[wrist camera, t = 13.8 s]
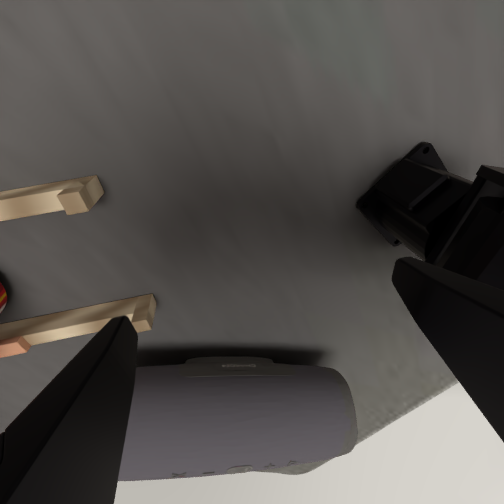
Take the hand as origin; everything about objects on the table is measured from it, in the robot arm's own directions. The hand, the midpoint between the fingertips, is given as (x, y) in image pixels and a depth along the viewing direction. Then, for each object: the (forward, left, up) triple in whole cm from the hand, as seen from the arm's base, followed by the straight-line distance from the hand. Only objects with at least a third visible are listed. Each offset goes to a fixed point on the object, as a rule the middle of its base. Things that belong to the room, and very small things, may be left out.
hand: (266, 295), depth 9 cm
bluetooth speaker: (-14, +17, -12) cm, 25 cm away
